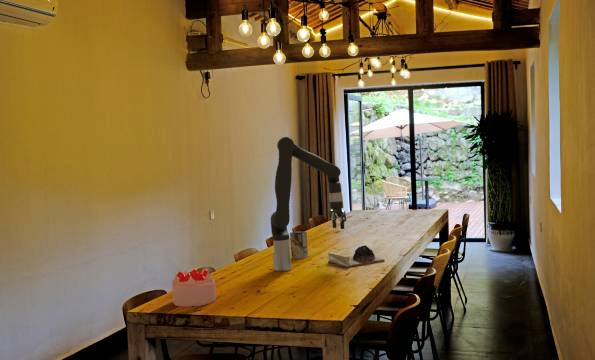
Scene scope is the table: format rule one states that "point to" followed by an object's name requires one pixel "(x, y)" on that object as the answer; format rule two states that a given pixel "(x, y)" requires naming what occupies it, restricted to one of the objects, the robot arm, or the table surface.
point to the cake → (193, 288)
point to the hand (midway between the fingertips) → (338, 228)
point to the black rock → (363, 254)
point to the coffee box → (299, 244)
